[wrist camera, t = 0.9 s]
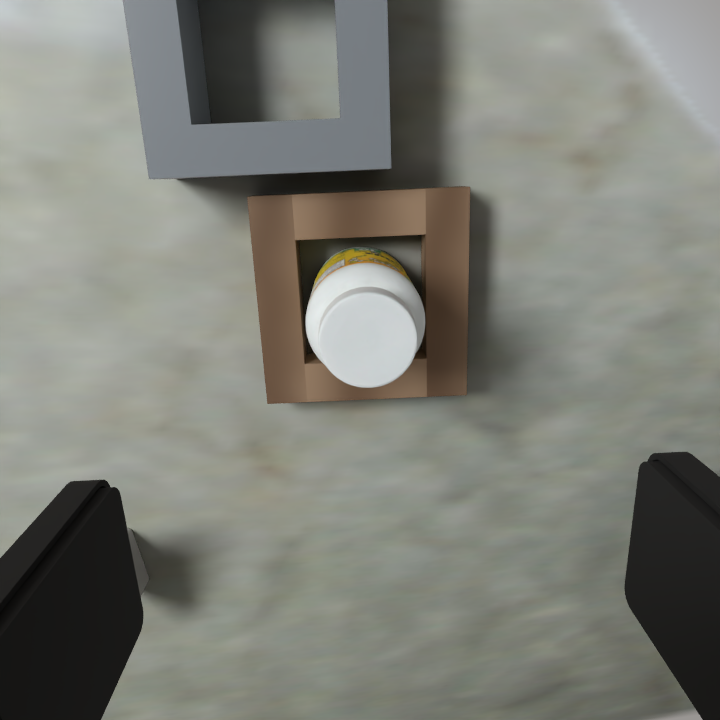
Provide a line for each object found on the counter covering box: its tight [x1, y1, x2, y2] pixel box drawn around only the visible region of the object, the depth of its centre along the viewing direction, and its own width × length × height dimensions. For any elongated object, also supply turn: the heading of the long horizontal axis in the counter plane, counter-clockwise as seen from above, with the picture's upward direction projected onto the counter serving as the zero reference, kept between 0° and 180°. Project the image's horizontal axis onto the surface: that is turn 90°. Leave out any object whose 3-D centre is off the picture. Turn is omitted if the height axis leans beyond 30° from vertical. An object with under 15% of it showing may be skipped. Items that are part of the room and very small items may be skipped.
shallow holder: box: [247, 186, 470, 404], centre depth 31 cm, size 11×11×2 cm
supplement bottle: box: [306, 247, 425, 388], centre depth 27 cm, size 5×5×10 cm
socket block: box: [123, 0, 391, 179], centre depth 26 cm, size 11×11×4 cm
